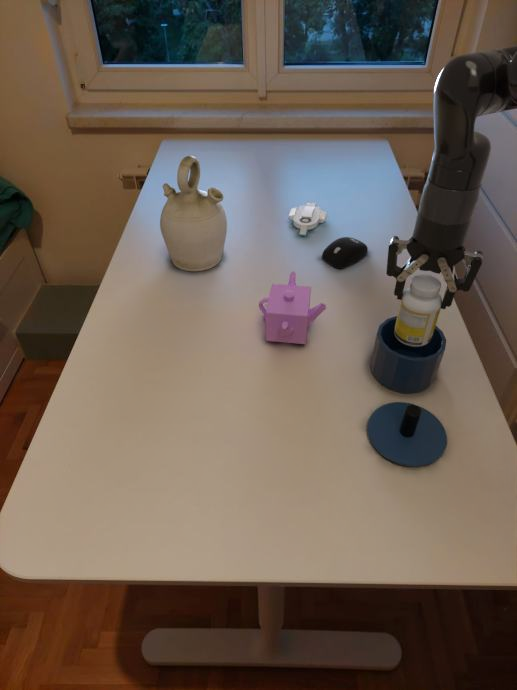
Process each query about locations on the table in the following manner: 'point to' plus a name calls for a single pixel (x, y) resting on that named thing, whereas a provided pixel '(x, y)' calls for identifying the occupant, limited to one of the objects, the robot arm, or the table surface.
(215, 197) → the jug
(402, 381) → the pot
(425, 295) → the pill bottle
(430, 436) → the lid
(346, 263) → the computer mouse
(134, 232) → the table surface
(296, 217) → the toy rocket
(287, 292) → the teapot
